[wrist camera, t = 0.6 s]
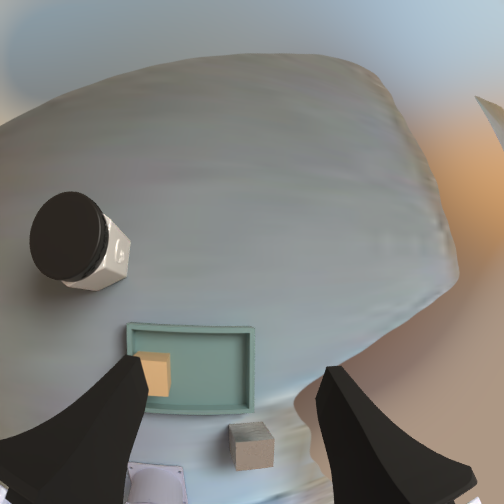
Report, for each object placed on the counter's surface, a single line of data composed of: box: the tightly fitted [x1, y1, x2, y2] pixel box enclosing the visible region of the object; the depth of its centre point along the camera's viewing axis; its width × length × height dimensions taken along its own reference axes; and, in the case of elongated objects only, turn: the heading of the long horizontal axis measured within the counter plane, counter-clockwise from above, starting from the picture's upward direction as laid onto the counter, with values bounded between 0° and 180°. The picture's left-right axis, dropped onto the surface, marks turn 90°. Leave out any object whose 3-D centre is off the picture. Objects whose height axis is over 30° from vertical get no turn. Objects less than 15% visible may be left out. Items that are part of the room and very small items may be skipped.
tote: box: [127, 322, 255, 415], centre depth 30 cm, size 11×15×2 cm
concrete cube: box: [229, 422, 274, 471], centre depth 28 cm, size 5×5×6 cm
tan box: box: [134, 351, 171, 397], centre depth 27 cm, size 4×4×5 cm
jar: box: [30, 192, 131, 291], centre depth 25 cm, size 9×8×12 cm
